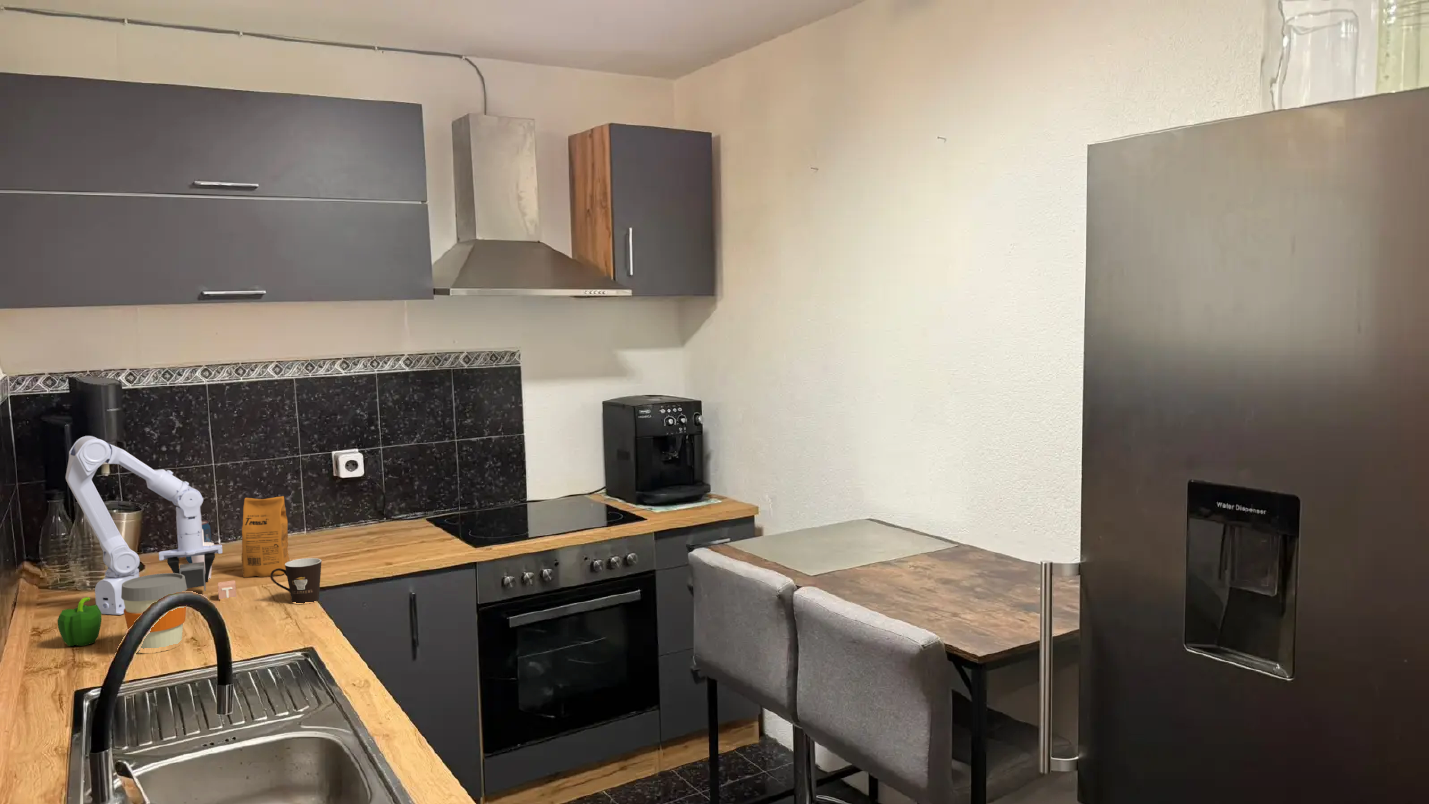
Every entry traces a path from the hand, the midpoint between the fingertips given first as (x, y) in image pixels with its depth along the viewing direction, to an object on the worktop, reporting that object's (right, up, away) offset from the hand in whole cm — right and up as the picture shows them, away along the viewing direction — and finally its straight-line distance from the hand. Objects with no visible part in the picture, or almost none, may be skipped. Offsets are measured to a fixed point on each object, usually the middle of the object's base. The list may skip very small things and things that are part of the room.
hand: (193, 583), depth 250 cm
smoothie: (-6, -2, +16) cm, 17 cm away
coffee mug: (+31, -3, -6) cm, 32 cm away
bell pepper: (-5, -7, -36) cm, 37 cm away
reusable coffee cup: (+14, -7, -39) cm, 42 cm away
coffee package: (+10, -1, +21) cm, 23 cm away
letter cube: (+11, -3, -3) cm, 11 cm away
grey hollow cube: (0, -2, 0) cm, 2 cm away
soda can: (-17, 0, +35) cm, 39 cm away
